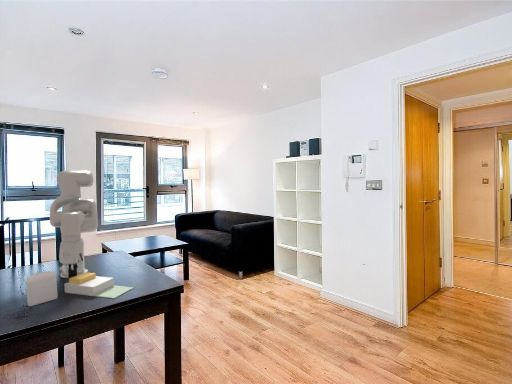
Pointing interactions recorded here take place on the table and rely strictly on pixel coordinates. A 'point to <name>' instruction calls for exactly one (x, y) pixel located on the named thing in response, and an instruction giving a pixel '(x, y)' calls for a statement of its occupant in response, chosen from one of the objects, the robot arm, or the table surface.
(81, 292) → the plate
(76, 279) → the tile
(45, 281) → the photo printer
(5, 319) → the table surface
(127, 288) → the mat
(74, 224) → the robot arm
